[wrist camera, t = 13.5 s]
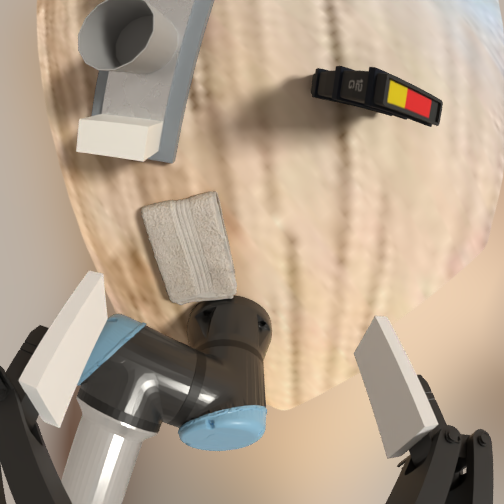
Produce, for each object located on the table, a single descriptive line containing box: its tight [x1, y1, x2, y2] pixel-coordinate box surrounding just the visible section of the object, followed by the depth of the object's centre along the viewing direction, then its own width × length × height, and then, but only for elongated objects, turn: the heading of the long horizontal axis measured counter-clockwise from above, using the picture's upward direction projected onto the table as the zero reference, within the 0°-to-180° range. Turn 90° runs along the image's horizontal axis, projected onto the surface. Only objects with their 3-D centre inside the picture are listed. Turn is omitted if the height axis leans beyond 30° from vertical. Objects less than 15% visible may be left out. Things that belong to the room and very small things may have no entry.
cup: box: [78, 0, 178, 74], centre depth 24 cm, size 8×8×10 cm
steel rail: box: [102, 0, 196, 151], centre depth 29 cm, size 28×9×1 cm, turn 166°
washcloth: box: [141, 191, 237, 305], centre depth 45 cm, size 12×18×3 cm, turn 10°
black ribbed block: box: [311, 66, 443, 127], centre depth 29 cm, size 4×13×15 cm, turn 84°
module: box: [76, 114, 163, 162], centre depth 32 cm, size 4×9×6 cm, turn 76°
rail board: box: [92, 0, 214, 163], centre depth 30 cm, size 31×13×2 cm, turn 166°
